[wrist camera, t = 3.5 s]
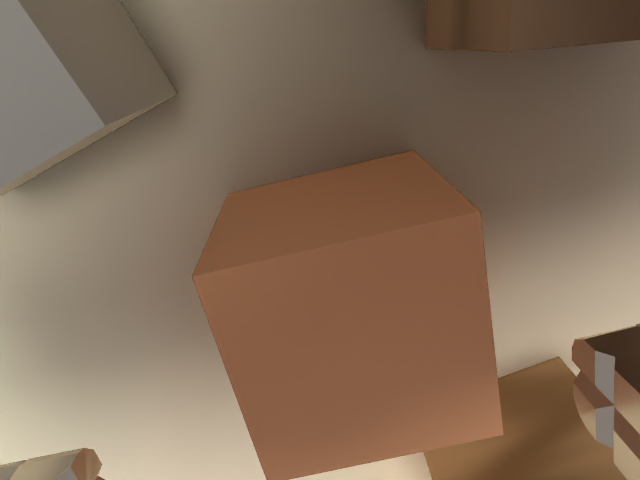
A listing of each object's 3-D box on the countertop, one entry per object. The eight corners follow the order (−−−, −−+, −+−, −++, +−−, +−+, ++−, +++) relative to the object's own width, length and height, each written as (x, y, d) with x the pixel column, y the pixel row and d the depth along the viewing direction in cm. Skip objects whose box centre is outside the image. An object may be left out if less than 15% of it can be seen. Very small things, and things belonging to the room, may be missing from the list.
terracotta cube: (412, 149, 13) (480, 211, 8) (437, 310, 15) (503, 434, 10) (228, 192, 13) (192, 276, 8) (276, 345, 15) (268, 484, 10)
